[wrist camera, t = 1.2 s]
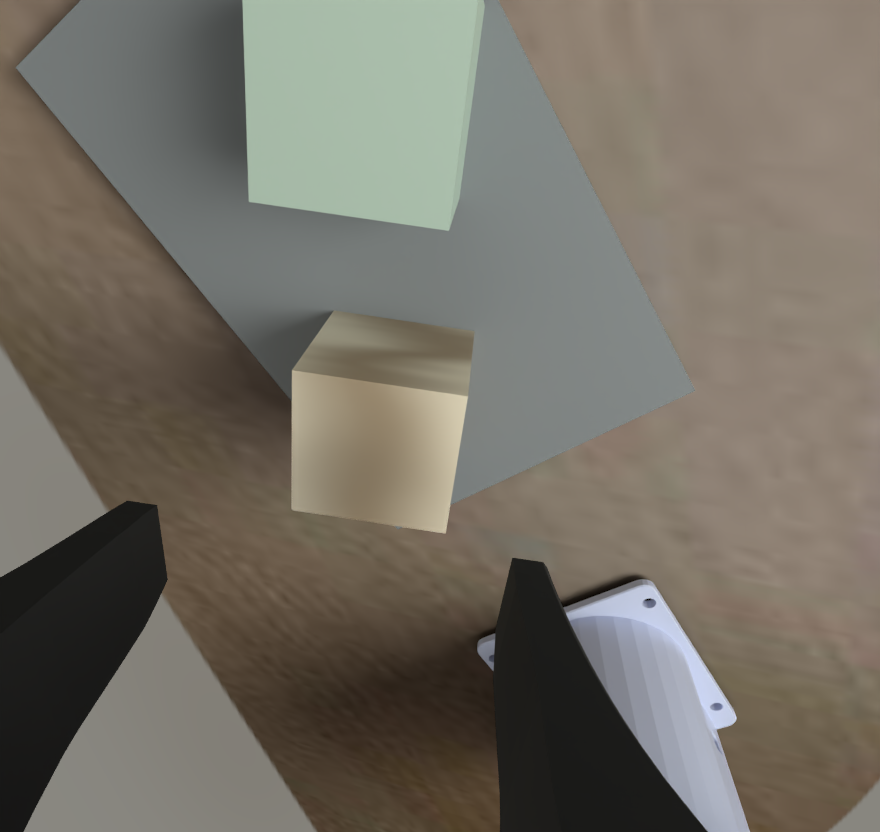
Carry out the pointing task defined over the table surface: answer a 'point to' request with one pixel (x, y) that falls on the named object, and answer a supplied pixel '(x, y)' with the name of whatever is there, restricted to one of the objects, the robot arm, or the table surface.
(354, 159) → the sage block
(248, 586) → the table surface
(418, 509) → the birch block
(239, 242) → the board
